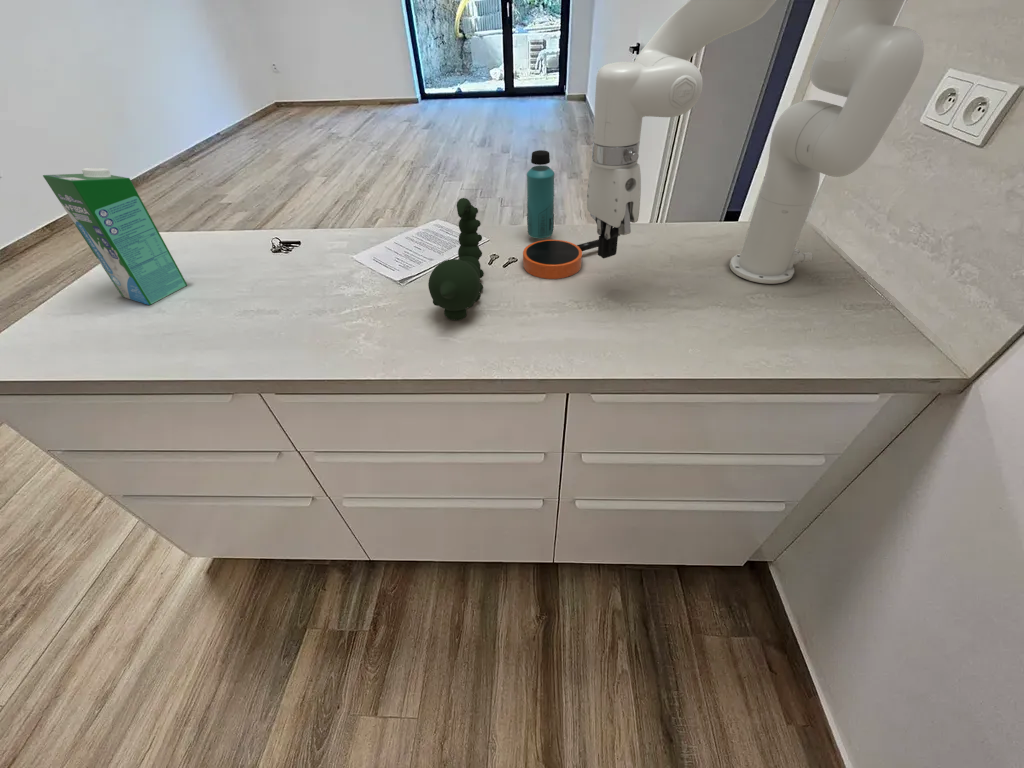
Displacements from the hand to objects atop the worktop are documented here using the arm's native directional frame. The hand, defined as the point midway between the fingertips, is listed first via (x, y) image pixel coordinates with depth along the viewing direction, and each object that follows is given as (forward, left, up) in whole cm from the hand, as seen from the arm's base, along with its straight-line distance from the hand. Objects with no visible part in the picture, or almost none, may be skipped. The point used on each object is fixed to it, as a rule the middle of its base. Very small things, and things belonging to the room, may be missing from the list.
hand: (606, 255), depth 91 cm
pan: (+4, -15, -9) cm, 18 cm away
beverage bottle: (+8, -28, -9) cm, 30 cm away
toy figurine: (+28, -2, -9) cm, 30 cm away
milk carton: (+94, -17, -9) cm, 96 cm away
